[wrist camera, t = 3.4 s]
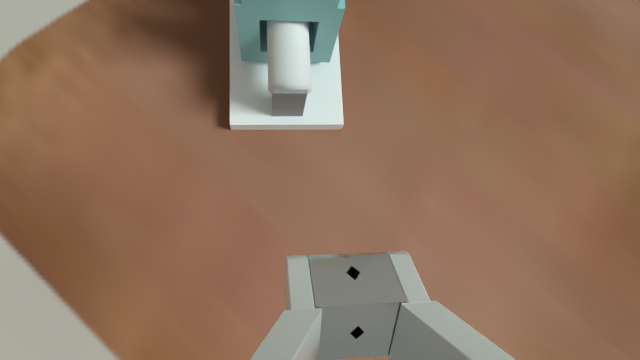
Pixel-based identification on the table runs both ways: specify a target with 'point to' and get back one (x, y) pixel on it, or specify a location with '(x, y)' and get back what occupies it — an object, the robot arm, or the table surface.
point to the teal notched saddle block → (288, 5)
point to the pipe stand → (284, 83)
